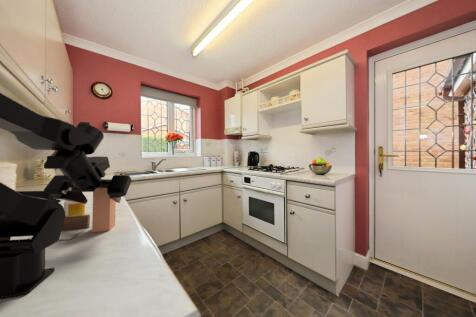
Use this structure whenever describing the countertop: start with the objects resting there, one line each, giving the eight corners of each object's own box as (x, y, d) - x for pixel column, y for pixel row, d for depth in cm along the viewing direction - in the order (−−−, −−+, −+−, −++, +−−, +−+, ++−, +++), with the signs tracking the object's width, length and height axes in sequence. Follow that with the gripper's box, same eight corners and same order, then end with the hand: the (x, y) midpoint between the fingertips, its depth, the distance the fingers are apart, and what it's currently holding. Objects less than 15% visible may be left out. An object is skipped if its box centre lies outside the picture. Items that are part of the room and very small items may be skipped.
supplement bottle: (88, 218, 64) (89, 191, 64) (73, 223, 59) (74, 194, 59) (75, 217, 65) (76, 191, 65) (59, 223, 59) (59, 194, 59)
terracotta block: (109, 230, 53) (110, 187, 54) (92, 232, 52) (93, 188, 52) (115, 225, 58) (115, 185, 58) (99, 226, 56) (100, 186, 56)
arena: (71, 239, 47) (71, 224, 47) (26, 243, 45) (27, 227, 45) (89, 227, 56) (89, 214, 56) (53, 229, 53) (53, 216, 53)
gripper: (129, 147, 51) (142, 180, 61) (54, 145, 47) (82, 181, 58) (114, 177, 43) (133, 210, 54) (23, 177, 40) (62, 212, 50)
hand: (103, 201), depth 54 cm, fingers open, 9 cm apart
